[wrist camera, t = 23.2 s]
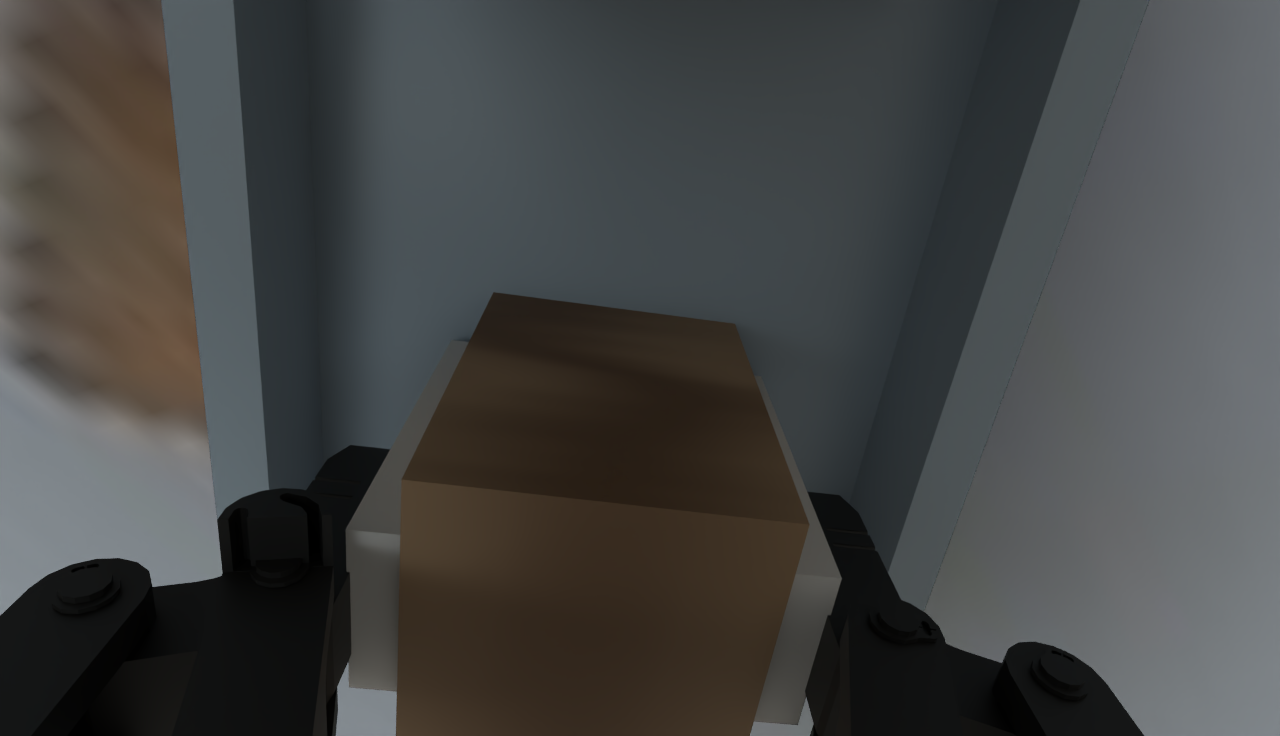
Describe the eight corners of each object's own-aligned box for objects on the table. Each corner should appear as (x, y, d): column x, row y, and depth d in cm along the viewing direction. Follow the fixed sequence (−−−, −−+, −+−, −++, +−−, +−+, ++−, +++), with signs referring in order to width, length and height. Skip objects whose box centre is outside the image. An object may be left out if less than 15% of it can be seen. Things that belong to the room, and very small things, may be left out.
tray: (297, 535, 19) (230, 640, 16) (204, -1108, 9) (-25, -1722, 6) (848, 589, 20) (891, 698, 17) (1295, -837, 10) (1604, -1234, 7)
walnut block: (479, 497, 17) (395, 769, 11) (493, 292, 15) (400, 478, 9) (693, 521, 18) (731, 797, 11) (734, 323, 16) (810, 524, 9)
